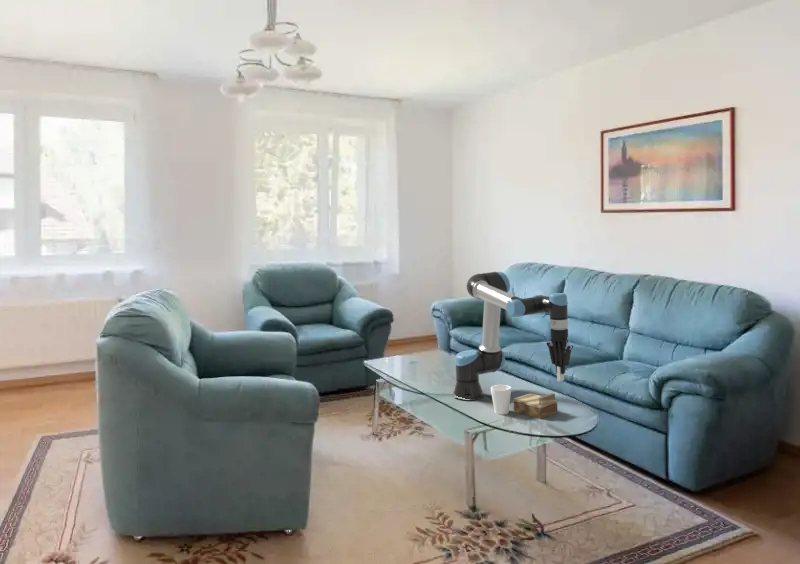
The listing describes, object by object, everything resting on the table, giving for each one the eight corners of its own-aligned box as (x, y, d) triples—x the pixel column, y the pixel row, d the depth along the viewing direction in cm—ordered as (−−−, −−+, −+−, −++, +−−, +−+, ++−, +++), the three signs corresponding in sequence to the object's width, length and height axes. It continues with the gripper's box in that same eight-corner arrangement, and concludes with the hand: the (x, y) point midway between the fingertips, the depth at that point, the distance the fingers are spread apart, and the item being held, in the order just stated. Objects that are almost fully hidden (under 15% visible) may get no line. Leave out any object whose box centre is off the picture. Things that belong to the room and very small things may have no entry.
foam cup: (498, 419, 277) (497, 391, 275) (487, 413, 285) (486, 386, 284) (515, 415, 281) (515, 388, 279) (504, 409, 289) (503, 383, 287)
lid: (513, 400, 284) (513, 391, 283) (530, 395, 291) (530, 386, 290) (539, 408, 271) (539, 398, 270) (557, 402, 278) (557, 393, 277)
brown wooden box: (513, 412, 284) (513, 401, 284) (531, 406, 291) (530, 395, 291) (540, 421, 271) (539, 409, 271) (557, 414, 278) (557, 403, 278)
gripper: (541, 327, 267) (543, 379, 270) (565, 331, 257) (567, 385, 259) (553, 325, 272) (554, 376, 274) (576, 328, 261) (578, 381, 264)
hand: (560, 380), depth 267 cm, fingers closed
